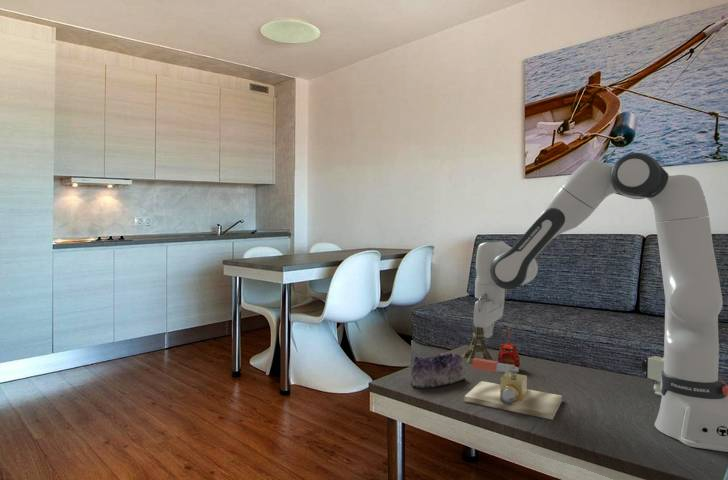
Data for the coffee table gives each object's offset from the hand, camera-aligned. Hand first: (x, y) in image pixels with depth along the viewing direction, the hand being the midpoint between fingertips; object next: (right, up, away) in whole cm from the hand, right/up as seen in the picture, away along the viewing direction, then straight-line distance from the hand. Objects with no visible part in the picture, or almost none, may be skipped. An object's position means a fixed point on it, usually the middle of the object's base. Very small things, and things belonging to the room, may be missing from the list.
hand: (488, 336), depth 144 cm
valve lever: (0, -9, -7) cm, 11 cm away
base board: (+5, -17, -9) cm, 20 cm away
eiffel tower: (+5, -16, +34) cm, 38 cm away
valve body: (+5, -17, -9) cm, 20 cm away
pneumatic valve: (+53, -17, -3) cm, 56 cm away
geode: (-15, -17, +7) cm, 23 cm away
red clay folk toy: (+13, -16, +22) cm, 31 cm away
